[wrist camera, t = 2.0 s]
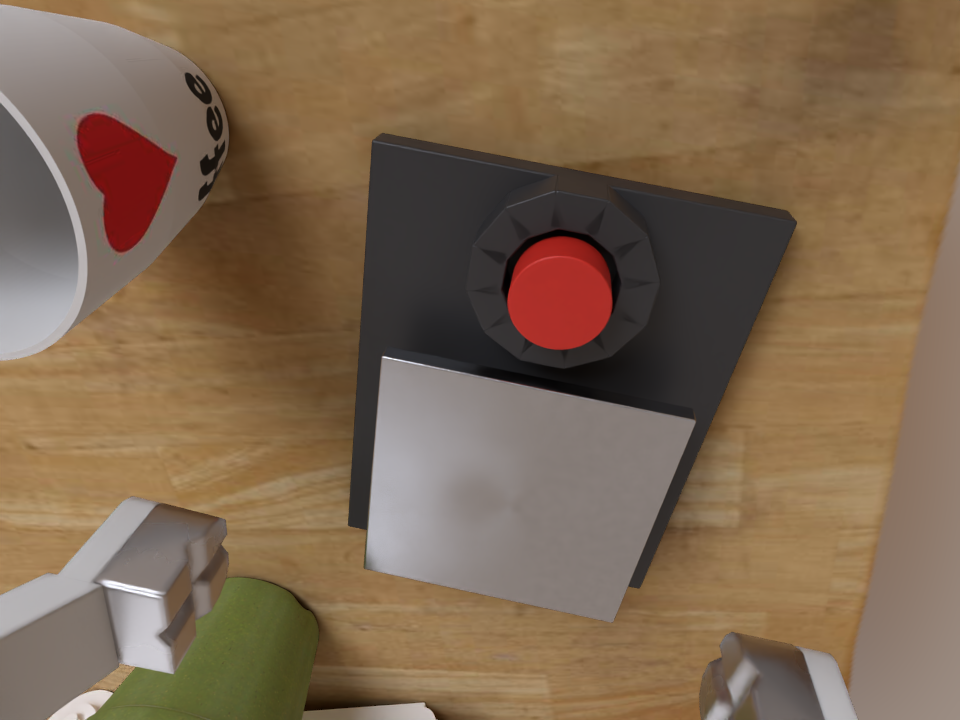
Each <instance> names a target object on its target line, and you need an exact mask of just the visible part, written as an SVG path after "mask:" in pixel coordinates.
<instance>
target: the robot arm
mask: <svg viewBox="0 0 960 720" xmlns="http://www.w3.org/2000/svg"><path fill="white" fill-rule="evenodd" d="M226 535H227V528H226V520H225V519H222V518H219V517H215V516H211V515H207V514H203V513H199V512H195V511H192V510H188V509H184V508H180V507H176V506H172V505H168V504H164V503H159V502H155V501H151V500H147V499H142V498H138V497H134V496H132V497H130V498H128V499H126V500H125V501H123V502H121V503H120V504H119V506H118V507H117V508H116V509H115V510H114V511H113V512H112V513H111V515H110V516H109V517H108V518H107V519H106V520H105V521H104V523H103V524H102V525H101V526H100V527H99V528H98V529H97V530H96V532H95V533H94V534H93V535H92V536H91V537H90V538H89V539H88V541H87V542H86V543H85V544H84V545H83V546H82V547H81V549H80V550H79V551H78V552H77V553H76V554H75V555H74V556H73V558H72V559H71V560H70V561H69V562H68V563H67V564H66V565H65V567H64V568H63V569H62V570H61V571H60V572H59V573H58V575H57V574H52V573H46V574H44V575H42V576H40V577H38V578H36V579H34V580H31V581H29V582H27V583H25V584H23V585H21V586H19V587H17V588H14V589H12V590H10V591H8V592H6V593H4V594H2V595H0V720H46V719H47V718H48V717H50V716H51V715H53V714H54V713H55V712H57V711H58V710H60V709H61V708H62V707H64V706H65V705H66V704H68V703H69V702H71V701H72V700H73V699H75V698H76V697H78V696H79V695H80V694H82V693H83V692H85V691H86V690H87V689H89V688H90V687H92V686H93V685H94V684H96V683H97V682H99V681H100V680H101V679H103V678H104V677H106V676H107V675H108V674H110V673H111V672H113V671H114V670H115V669H117V668H118V667H119V663H121V664H126V665H131V666H136V667H141V668H146V669H151V670H155V671H160V672H165V673H170V674H174V673H175V672H176V670H177V668H178V667H179V665H180V663H181V662H182V660H183V658H184V657H185V655H186V653H187V652H188V650H189V648H190V646H191V645H192V643H193V641H194V640H195V638H196V636H197V634H196V623H195V621H196V620H198V619H199V618H201V617H203V616H204V615H206V614H208V613H209V612H211V611H212V609H213V607H214V605H215V604H216V602H217V600H218V598H219V597H220V594H221V591H222V589H223V586H224V583H225V581H226V578H227V572H228V565H229V559H228V552H227V551H226V550H225V549H224V548H223V546H222V545H221V543H222V542H223V540H224V538H225V537H226ZM720 650H721V656H722V657H721V658H719V659H717V660H714V661H712V662H710V663H709V664H708V666H707V668H706V670H705V672H704V674H703V676H702V682H701V687H700V693H699V700H700V714H701V720H858V717H857V715H856V712H855V709H854V707H853V704H852V701H851V699H850V696H849V693H848V691H847V688H846V685H845V683H844V680H843V678H842V675H841V672H840V670H839V667H838V664H837V662H836V660H835V659H834V658H833V657H832V655H831V654H829V653H825V652H820V651H816V650H811V649H807V648H802V647H798V646H794V645H792V644H787V643H782V642H778V641H773V640H768V639H763V638H759V637H754V636H749V635H744V634H740V633H735V632H731V633H729V634H727V635H726V636H725V637H724V639H723V641H722V642H721V644H720Z"/></svg>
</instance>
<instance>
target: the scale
mask: <svg viewBox="0 0 960 720" xmlns="http://www.w3.org/2000/svg"><path fill="white" fill-rule="evenodd" d="M796 225H797V221H796V220H795V219H794V218H793V217H792V216H791V214H790V213H789V212H788V211H786V210H781V209H776V208H770V207H765V206H760V205H755V204H750V203H744V202H739V201H734V200H729V199H724V198H718V197H713V196H708V195H703V194H697V193H692V192H687V191H682V190H677V189H671V188H666V187H661V186H656V185H651V184H645V183H640V182H635V181H630V180H625V179H619V178H614V177H609V176H604V175H599V174H593V173H588V172H583V171H578V170H572V169H567V168H562V167H557V166H552V165H546V164H541V163H536V162H531V161H526V160H520V159H515V158H510V157H505V156H500V155H494V154H489V153H484V152H479V151H473V150H468V149H463V148H458V147H453V146H447V145H442V144H437V143H432V142H427V141H421V140H416V139H411V138H406V137H401V136H395V135H390V134H385V133H382V134H380V135H379V136H378V137H376V138H375V139H374V140H373V141H372V150H371V166H370V182H369V198H368V214H367V230H366V246H365V262H364V278H363V294H362V310H361V326H360V342H359V358H358V374H357V390H356V406H355V422H354V438H353V453H352V469H351V485H350V501H349V517H348V526H350V527H355V528H360V529H364V530H367V521H368V509H369V497H370V485H371V473H372V462H373V450H374V438H375V426H376V414H377V403H378V391H379V379H380V367H381V357H382V355H383V353H384V351H385V349H386V347H387V346H390V347H395V348H400V349H405V350H409V351H414V352H419V353H424V354H429V355H434V356H439V357H444V358H449V359H453V360H458V361H463V362H468V363H473V364H478V365H483V366H488V367H493V368H497V369H502V370H507V371H512V372H517V373H522V374H527V375H532V376H537V377H542V378H546V379H551V380H556V381H561V382H566V383H571V384H576V385H581V386H586V387H590V388H595V389H600V390H605V391H610V392H615V393H620V394H625V395H630V396H634V397H639V398H644V399H649V400H654V401H659V402H664V403H669V404H674V405H679V406H683V407H688V408H692V409H694V413H695V417H696V424H695V426H694V429H693V431H692V433H691V436H690V438H689V441H688V443H687V445H686V448H685V450H684V453H683V455H682V457H681V460H680V462H679V465H678V467H677V470H676V472H675V474H674V477H673V479H672V482H671V484H670V486H669V489H668V491H667V494H666V496H665V498H664V501H663V503H662V506H661V508H660V511H659V513H658V515H657V518H656V520H655V523H654V525H653V527H652V530H651V532H650V535H649V537H648V539H647V542H646V544H645V547H644V549H643V552H642V554H641V556H640V559H639V561H638V564H637V566H636V568H635V571H634V573H633V576H632V578H631V580H630V583H629V585H628V586H629V587H634V588H640V587H641V585H642V582H643V580H644V578H645V575H646V573H647V571H648V568H649V566H650V564H651V561H652V559H653V557H654V554H655V552H656V550H657V548H658V545H659V543H660V541H661V538H662V536H663V534H664V531H665V529H666V527H667V524H668V522H669V520H670V517H671V515H672V513H673V510H674V508H675V506H676V503H677V501H678V499H679V496H680V494H681V492H682V489H683V487H684V485H685V482H686V480H687V478H688V475H689V473H690V471H691V469H692V466H693V464H694V462H695V459H696V457H697V455H698V452H699V450H700V448H701V445H702V443H703V441H704V438H705V436H706V434H707V431H708V429H709V427H710V424H711V422H712V420H713V417H714V415H715V413H716V410H717V408H718V406H719V403H720V401H721V399H722V396H723V394H724V392H725V389H726V387H727V385H728V383H729V380H730V378H731V376H732V373H733V371H734V369H735V366H736V364H737V362H738V359H739V357H740V355H741V352H742V350H743V348H744V345H745V343H746V341H747V338H748V336H749V334H750V331H751V329H752V327H753V324H754V322H755V320H756V317H757V315H758V313H759V310H760V308H761V306H762V304H763V301H764V299H765V297H766V294H767V292H768V290H769V287H770V285H771V283H772V280H773V278H774V276H775V273H776V271H777V269H778V266H779V264H780V262H781V259H782V257H783V255H784V252H785V250H786V248H787V245H788V243H789V241H790V238H791V236H792V234H793V231H794V229H795V227H796ZM557 236H567V237H573V238H577V239H580V240H582V241H585V242H587V243H588V244H590V245H591V246H593V247H594V248H595V249H596V250H597V251H598V252H599V253H600V254H601V255H602V256H603V258H604V259H605V261H606V263H607V265H608V268H609V271H610V277H611V289H612V300H613V304H612V312H611V316H610V318H609V321H608V323H607V324H606V326H605V328H604V329H603V330H602V331H601V333H600V334H599V335H598V336H596V337H595V338H594V339H593V340H591V341H590V342H588V343H586V344H584V345H582V346H579V347H576V348H572V349H566V350H554V349H548V348H544V347H541V346H538V345H536V344H534V343H532V342H530V341H529V340H528V339H526V338H525V337H524V336H523V335H522V334H521V333H520V332H519V331H518V330H517V329H516V327H515V326H514V324H513V322H512V320H511V318H510V315H509V312H508V303H507V300H508V293H509V288H510V284H511V280H512V276H513V272H514V268H515V265H516V263H517V261H518V260H519V258H520V256H521V255H522V254H523V253H524V252H525V251H526V250H527V249H528V248H529V247H530V246H532V245H533V244H535V243H537V242H539V241H541V240H543V239H546V238H550V237H557Z"/></svg>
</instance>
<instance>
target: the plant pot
mask: <svg viewBox="0 0 960 720" xmlns="http://www.w3.org/2000/svg"><path fill="white" fill-rule="evenodd" d="M195 623H196V634H197V636H196V638H195V640H194V641H193V643H192V645H191V646H190V648H189V650H188V652H187V653H186V655H185V657H184V658H183V660H182V662H181V663H180V665H179V667H178V668H177V670H176V672H175V673H174V674H170V673H165V672H160V671H155V670H151V669H146V668H141V667H136V668H135V669H134V670H133V671H132V672H131V673H130V675H129V676H128V677H127V678H126V679H125V680H124V681H123V683H122V684H121V685H120V686H119V687H118V688H117V690H116V691H115V692H114V693H113V694H112V695H111V696H110V698H109V699H108V700H107V701H106V702H105V703H104V704H103V705H102V707H101V708H100V709H99V710H98V711H97V712H96V713H95V714H93V715H92V716H90V717H88V718H87V719H86V720H302V717H303V712H304V707H305V702H306V697H307V693H308V688H309V683H310V678H311V673H312V668H313V664H314V659H315V654H316V650H317V645H318V640H319V629H318V624H317V621H316V619H315V617H314V615H313V614H312V612H311V611H309V610H306V609H304V608H303V607H302V606H301V605H300V604H299V603H298V602H297V600H296V599H295V598H294V596H293V595H292V594H291V593H289V592H288V591H287V590H285V589H283V588H281V587H279V586H276V585H274V584H271V583H268V582H265V581H262V580H258V579H252V578H242V577H233V578H226V581H225V583H224V586H223V589H222V591H221V594H220V597H219V598H218V600H217V602H216V604H215V605H214V607H213V609H212V611H211V612H209V613H208V614H206V615H204V616H203V617H201V618H199V619H198V620H196V621H195Z"/></svg>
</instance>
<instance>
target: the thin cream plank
mask: <svg viewBox="0 0 960 720" xmlns="http://www.w3.org/2000/svg"><path fill="white" fill-rule="evenodd" d="M112 694H113V693H111V692H109V691H106V690H95V691H91V692H87V693H85V694H82V695H80V696H78V697H76V698H75V699H73V700H72V701H71V702H69V703H68V704H66V705H65V706H64V707H62V708H61V709H60V710H58V711H57V712H55V713H54V714H53V715H52V716H51V717H50V719H49V720H86V719H87V718H88V717H90V716H92V715H93V714H95V713H96V712H97V711H98V710H99V709H100V708H101V707H102V705H103V704H104V703H105V702H106V701H107V700H108V699H109V698H110V696H111V695H112ZM302 720H436V719H435V716H434V713H433V712H432V711H431V710H430V709H428V708H426V705H425V702H424V703H411V704H397V705H383V706H370V707H356V708H343V709H329V710H316V711H304V712H303V717H302Z"/></svg>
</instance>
